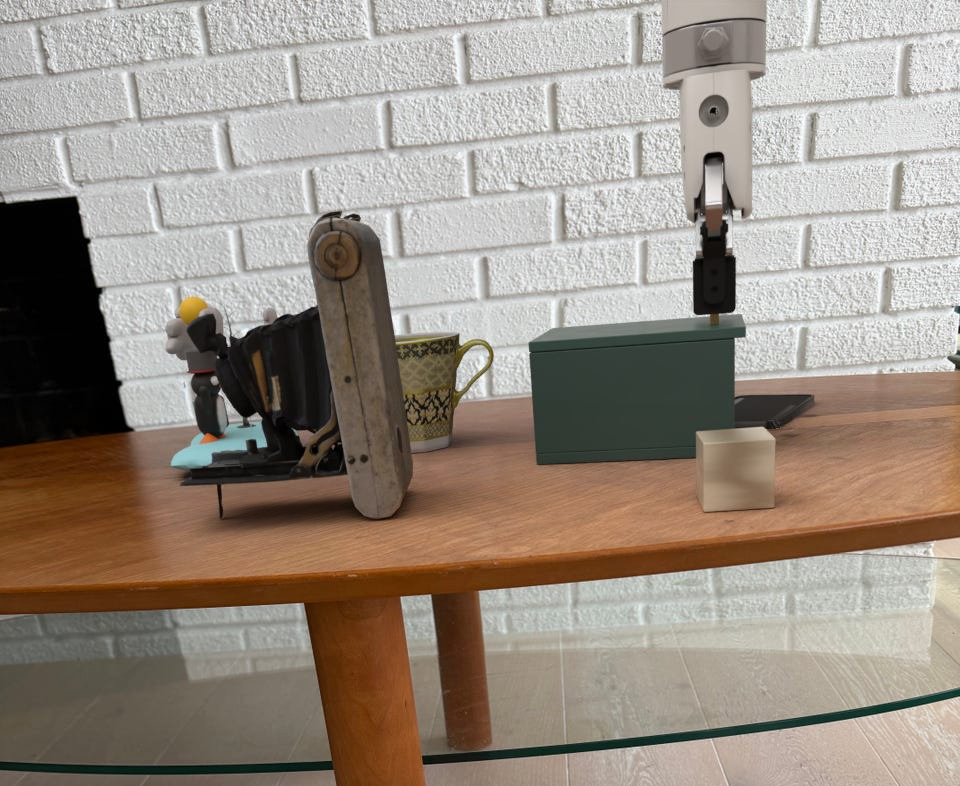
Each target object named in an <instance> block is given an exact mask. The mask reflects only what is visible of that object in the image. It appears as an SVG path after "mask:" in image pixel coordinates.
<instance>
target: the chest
mask: <svg viewBox="0 0 960 786" xmlns="http://www.w3.org/2000/svg"><path fill="white" fill-rule="evenodd" d="M528 355H529V371H530V372H529V373H530V386H531V399H532V400H531V403H532V415H533V417H532V418H533V429H534V430H533V432H534V444H535V445H534V447H535V448H534V449H535V462H536V465H538V466H539V465H559V464H583V463H604V462H607V463H608V462H626V461H627V460H631V461H653V460H675V459H676V460H677V459H696V432H697V431H710V430H724V429H735V397H736V393H735V392H736V391H735V390H736V384H735V383H736V376H735V375H736V338H729V339H715V340H700V341H686V342H672V343H657V344H643V345H629V346H614V347H600V348H585V349H571V350H557V351H542V352H529V354H528Z"/></svg>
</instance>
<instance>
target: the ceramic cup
mask: <svg viewBox="0 0 960 786" xmlns="http://www.w3.org/2000/svg"><path fill="white" fill-rule="evenodd" d="M395 341H396V348H397V356H398V363H399V370H400V377H401V384H402V390H403V397H404V404H405V410H406V417H407V424H408V431H409V439H410V446H411V454H414V453H426V452H431V451H435V450H441V449H446V448H449V446H450V445H451V444H452V441H453V429H454V416H455V409H456V408H457V407H458V405H459V402H460V400H461V399H462V397H463V396H464V395H466V393H467V392H468V391H470V389H471V388H472V386H473V384H474V383H475V382H476V381H477V380H479V379H480V377H482V376H483V375H484V374H485V373H487V371H489V369H490V368H491V366H492V364H493V362H494V359H495V358H494V357H495V356H494V355H495V354H494V350H493V347H492V346H491V344H490V343H489V342H487V340H484V339H482V338H481V339H480V338H474V339H471V340H469V341H468V340H467V341H466V342H465V343H463V344H462V345H461V344H460V333H459V332H457V331H425V332H415V333H414V332H413V333H403V334H395ZM475 346H482V347H485V348H486V350H487V351H488V354H489V357H488V361H487V363H486V364H485V366H484V367H482V368H481V370H479V371H478V372H477V373H476V374H475V375H473V377H472V378H470V380H469V381H468V383H467V384H466V385H465V387H463V389H461V390H457V389H456V387H457V376H458V375H457V374H458V368H459V366H460V365H461V362H462V360H463V358H464V356H465V355H466V354H467V352H468V351H470V349H472V348H473V347H475Z"/></svg>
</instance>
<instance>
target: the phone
mask: <svg viewBox="0 0 960 786" xmlns="http://www.w3.org/2000/svg"><path fill="white" fill-rule="evenodd" d="M814 404H815V394H811V393H810V394H809V393H801V394H800V393H796V394H793V393H792V394H791V393H790V394H787V393H785V394H741V395H737V396H735V429H738V428H752V427H764V428H765V429H773V430H777V429H776V428H779V429H781V428H780V427H782V426H783V427H785V426H786V425H787V424H789V423H790V422H791V421H793V420H794V419H796V418H797V417H798V416H799V415H801V414H803V413H804V412H805V411H807V410H808V409H809V408H811V407H812V406H813V405H814ZM785 424H786V425H785ZM783 427H782V428H783Z"/></svg>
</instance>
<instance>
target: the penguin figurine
mask: <svg viewBox="0 0 960 786" xmlns="http://www.w3.org/2000/svg"><path fill="white" fill-rule="evenodd" d="M223 305H224V304H223ZM223 305H222V303H221V306H222V307H223V310H224V313H225V317H226V319H225V318H224V316H223V314H222V313H221V311H220V310H219V309H218V308H217V307H216V306H215V307H214V306H209V305H208V303H207V302H206V301H205V300H204V299H203V298H201V297H197V296H189V297H186V298H185V299H183V300H182V301H181V303H180V305H179V306H178V307H176V308H175V309H174V311H173V312H174V316H175V317H174V318H171V319H169V320H168V321H167V322H166V323H165V327H164V328H165V333H166V336H167V341H166V343H165V348H164V349H165V352H166V353H167V354H169V355H175V356H176V357H177V359H179V360H180V361H186V364H187V369H188V370H187V371H186V373H187V374H192V377H191V379H190V387H191V390H192V391H193V393H194V394H195V395H196V396H195V398H194V400H193V401H192V406H193V410H194V415H195V420H196V425H197V427H198V430H199V432H200V433H199V434H197V435H196V436H194V438H192V440H191V442H190V445H189V446H186V447H185V448H183V449H181V450H179V451H178V452H176V453H175V454H174V456H173V457H172V459H171V462H170V466H171V468H174V469H177V470H182V471H185V472H190V469H193V468H203V466H207V465H209V464H211V463H212V453H213V452H221V451H227V450H230V451H234V450H247V447H246V440H249V439H256V442H257V448H261V447H267V443H266V438H265V435H264V432H263V430H262V425H261V422H262V421H249V420H251V419H252V416H250V417H249V418H244V417H242V422H238V423H231V424H230V421H229V415H228V411H227V407H226V403H225V402H226V401H225V397H223V396H222V395H221V394H219V393H220V391H222V389H221V386H220V384H219V381H218V379H217V377H216V374H215V371H214V364H213V363H214V361H215V360H216V359H217V358H219V357H218V356H215V354H214V351H207V352H204V353H200V352H199V350H198V349H197V348H196V346H195V345H194V343H193V342H192V340H191V339H190V337H189V335H188V333H187V327H188V326H189V324H190V323H191V321H193V320H194V319H196V318H198V317H200V316H203V315H205V314H212V313H214V316H215V319H216V334H218V333H221V334H223V335H224V336H225V334H224V333H225V332H224V331H225V330H226V331H227V330H228V331H229V337H228V339H229V338H230V337H231V336H233V337H235V335H237V333H240V330H238V331H237V332H235V334H233V333H232V328H231V327H232V322H230V320H229V317H230V316H231V315H233V314H234V313H235V312H236V310H234V311H232V312H231V313H230V314H229V315H228V313H227V311H226V307H225V305H224V306H223ZM262 318H263V325H269V324H272V323H273V322H274V321H275V320H276V319H277V318H278V313H277V311H276V309H275V308H273V307H267V308H265V309H264V310H263V311H262ZM224 321H225V323H227V324H228V328H227V327H225V326H224ZM229 346H231V342H230V341H229V345H228V347H229ZM182 385H183V388H184V389H185V391H186V389H187V388H186V382H182ZM254 415H257V413H255V414H254ZM293 430H294V429H293ZM294 432H295V434H296V436H298V431H296V430H294Z"/></svg>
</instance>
